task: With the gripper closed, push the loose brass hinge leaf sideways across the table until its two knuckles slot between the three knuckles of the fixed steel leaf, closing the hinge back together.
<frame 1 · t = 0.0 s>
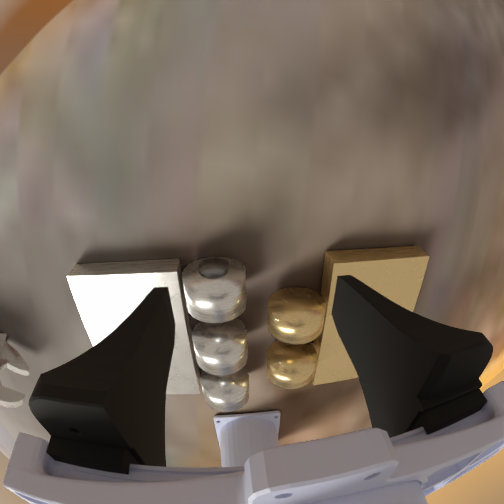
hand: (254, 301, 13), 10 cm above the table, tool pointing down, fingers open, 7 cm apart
steel leaf: (220, 327, 26), on the table
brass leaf: (346, 333, 25), point 2 cm above the table, slide at 6.0 cm
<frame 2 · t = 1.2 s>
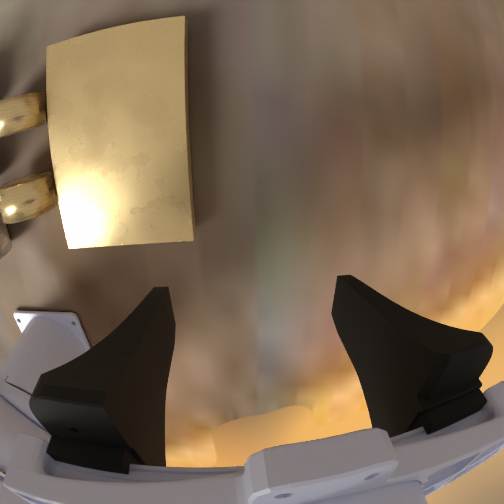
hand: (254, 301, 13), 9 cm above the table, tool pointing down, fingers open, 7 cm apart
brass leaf: (75, 143, 15), point 2 cm above the table, slide at 6.0 cm
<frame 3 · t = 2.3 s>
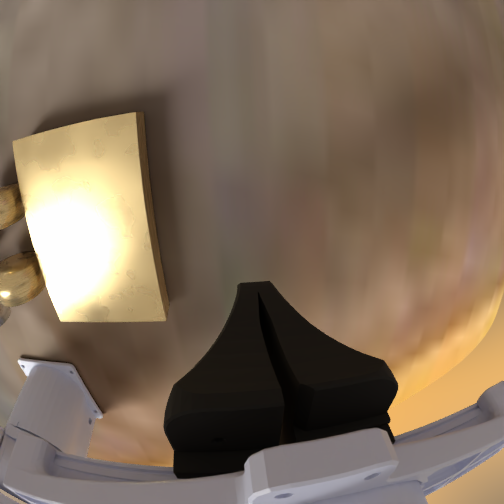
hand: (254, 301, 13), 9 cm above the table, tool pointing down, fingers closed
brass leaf: (53, 239, 17), point 2 cm above the table, slide at 6.0 cm
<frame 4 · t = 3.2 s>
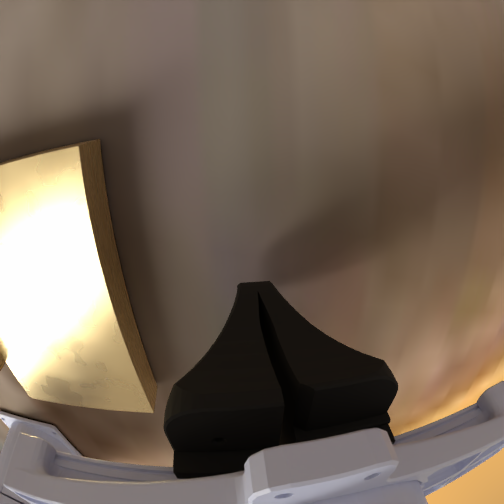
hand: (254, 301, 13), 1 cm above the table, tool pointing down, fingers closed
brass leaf: (0, 317, 11), point 2 cm above the table, slide at 6.0 cm
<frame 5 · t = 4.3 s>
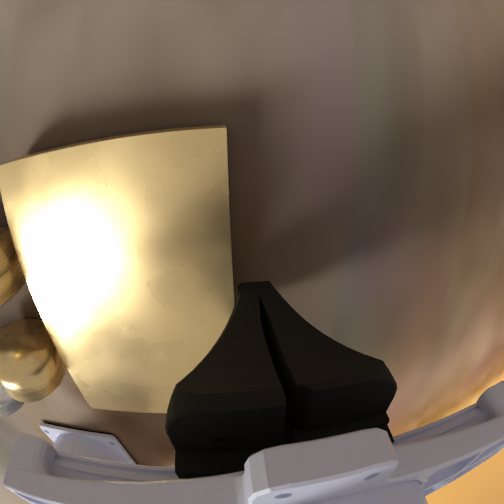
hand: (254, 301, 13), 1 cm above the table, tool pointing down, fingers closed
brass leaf: (75, 321, 11), point 2 cm above the table, slide at 4.9 cm, touching gripper
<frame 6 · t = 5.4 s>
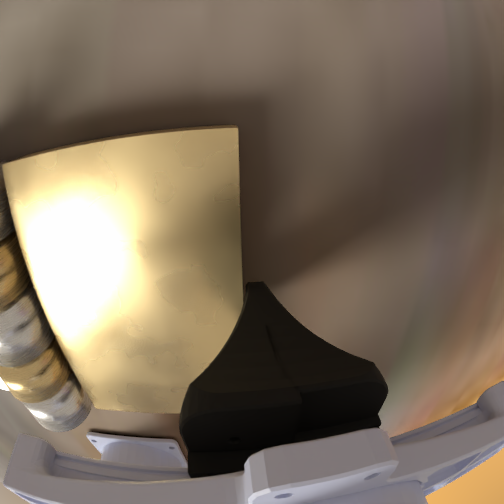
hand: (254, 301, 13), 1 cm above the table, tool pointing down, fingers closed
steel leaf: (28, 291, 13), on the table
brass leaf: (82, 321, 11), point 2 cm above the table, slide at -0.1 cm, touching gripper
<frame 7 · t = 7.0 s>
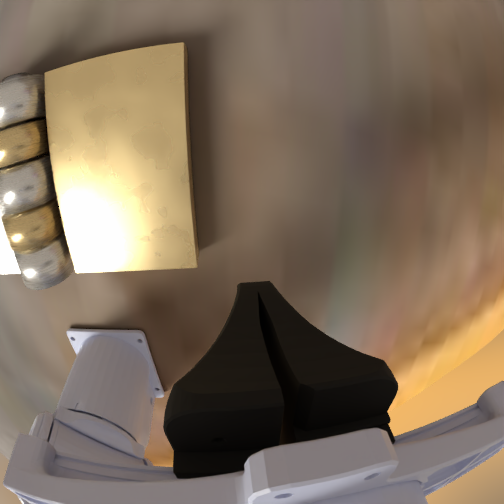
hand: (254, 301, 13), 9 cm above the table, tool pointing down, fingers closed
steel leaf: (40, 174, 18), on the table
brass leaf: (78, 173, 16), point 2 cm above the table, slide at 0.0 cm
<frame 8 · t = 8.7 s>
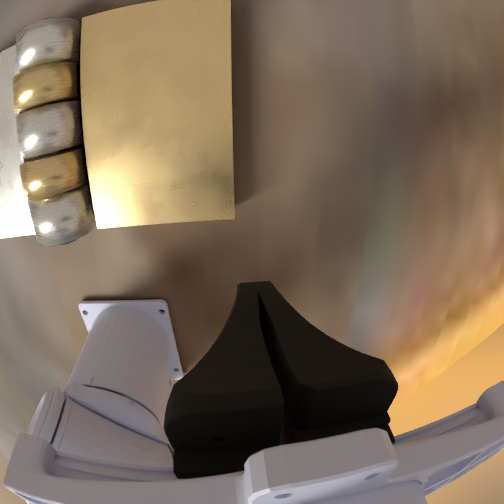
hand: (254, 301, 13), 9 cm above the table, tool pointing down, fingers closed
steel leaf: (64, 126, 16), on the table
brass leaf: (112, 115, 15), point 2 cm above the table, slide at 0.0 cm
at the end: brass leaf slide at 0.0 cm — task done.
